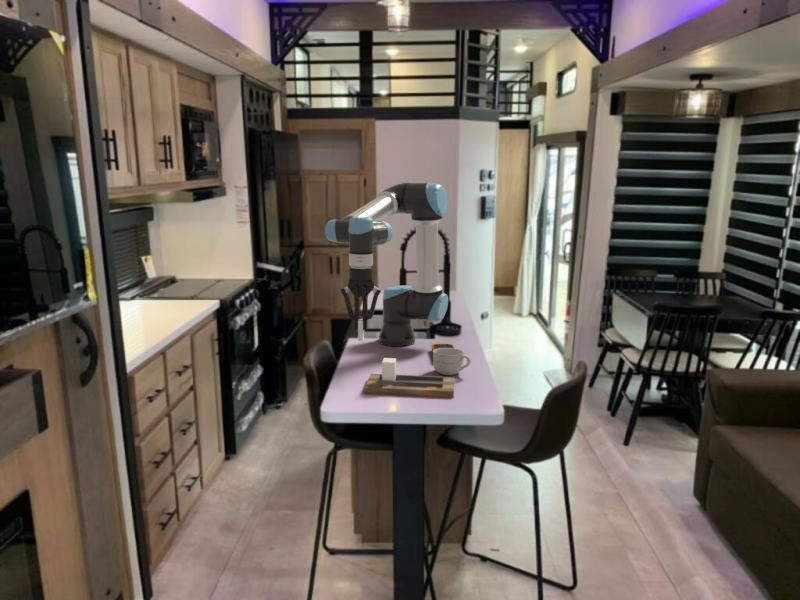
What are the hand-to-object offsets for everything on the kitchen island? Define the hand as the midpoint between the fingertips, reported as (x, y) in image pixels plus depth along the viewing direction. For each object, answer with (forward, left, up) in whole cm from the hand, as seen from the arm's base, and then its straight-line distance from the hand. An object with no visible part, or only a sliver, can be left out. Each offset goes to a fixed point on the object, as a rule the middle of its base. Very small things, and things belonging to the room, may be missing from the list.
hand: (361, 339), depth 188 cm
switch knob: (0, +9, -13) cm, 16 cm away
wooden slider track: (0, +16, -16) cm, 23 cm away
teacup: (-16, +29, -16) cm, 37 cm away
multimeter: (-35, +26, -16) cm, 47 cm away
